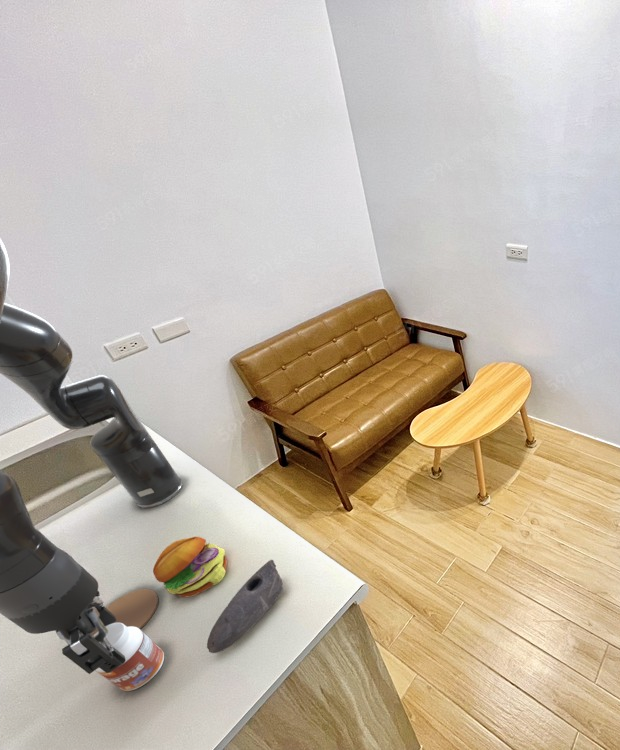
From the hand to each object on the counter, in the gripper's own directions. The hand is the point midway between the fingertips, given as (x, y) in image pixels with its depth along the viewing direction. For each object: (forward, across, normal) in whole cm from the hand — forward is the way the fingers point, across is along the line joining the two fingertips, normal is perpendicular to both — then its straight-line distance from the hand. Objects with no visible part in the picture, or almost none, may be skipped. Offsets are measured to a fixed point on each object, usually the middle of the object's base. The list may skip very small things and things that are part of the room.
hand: (112, 644), depth 60 cm
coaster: (+9, +13, +1) cm, 16 cm away
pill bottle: (+10, 0, 0) cm, 10 cm away
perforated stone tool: (+10, -5, -16) cm, 19 cm away
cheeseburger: (+9, +12, -11) cm, 19 cm away
